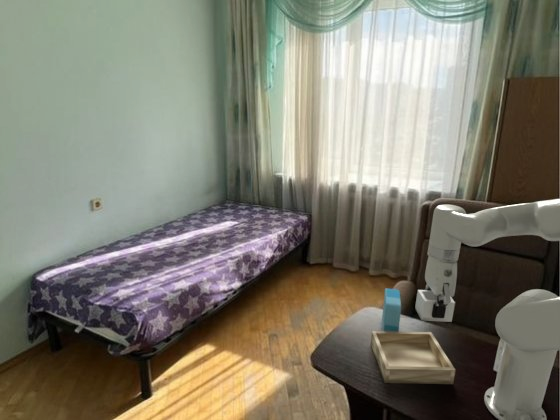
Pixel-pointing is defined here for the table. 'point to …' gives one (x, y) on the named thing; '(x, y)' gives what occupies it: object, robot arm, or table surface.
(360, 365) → the table surface
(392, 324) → the data package
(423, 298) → the white open box
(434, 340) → the wooden tray
